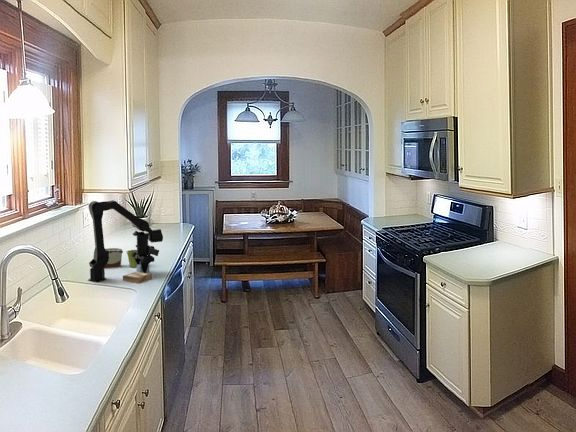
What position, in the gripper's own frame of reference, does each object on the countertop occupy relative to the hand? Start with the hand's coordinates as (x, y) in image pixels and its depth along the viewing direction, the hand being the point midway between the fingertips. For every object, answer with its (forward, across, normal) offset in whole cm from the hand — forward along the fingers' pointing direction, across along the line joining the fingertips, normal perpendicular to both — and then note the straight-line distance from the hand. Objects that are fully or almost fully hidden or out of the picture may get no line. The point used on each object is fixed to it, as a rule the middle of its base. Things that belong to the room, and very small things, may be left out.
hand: (143, 272), depth 269 cm
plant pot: (+1, +20, -2) cm, 20 cm away
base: (+1, -9, +6) cm, 11 cm away
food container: (+1, +26, +9) cm, 28 cm away
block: (+1, 0, 0) cm, 1 cm away
